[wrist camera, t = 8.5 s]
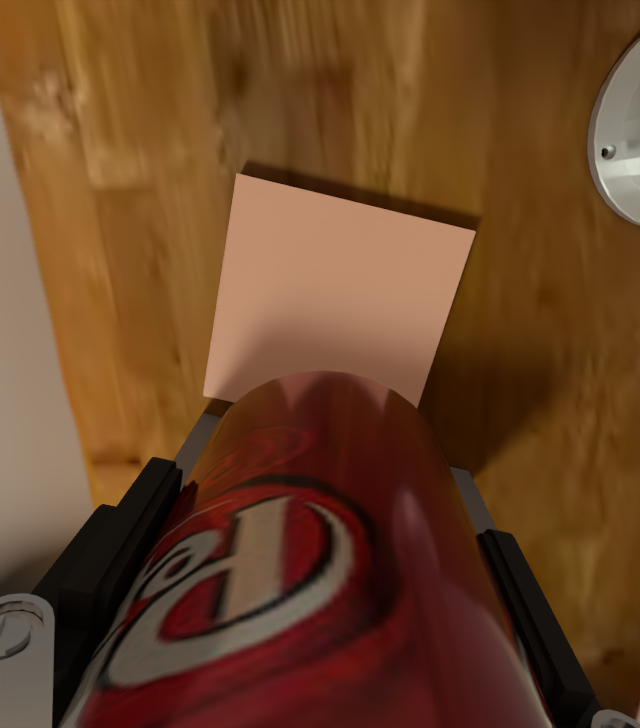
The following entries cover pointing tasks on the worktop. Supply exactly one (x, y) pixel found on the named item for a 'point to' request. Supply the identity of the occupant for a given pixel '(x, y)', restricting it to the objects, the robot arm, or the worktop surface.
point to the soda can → (314, 582)
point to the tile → (329, 290)
